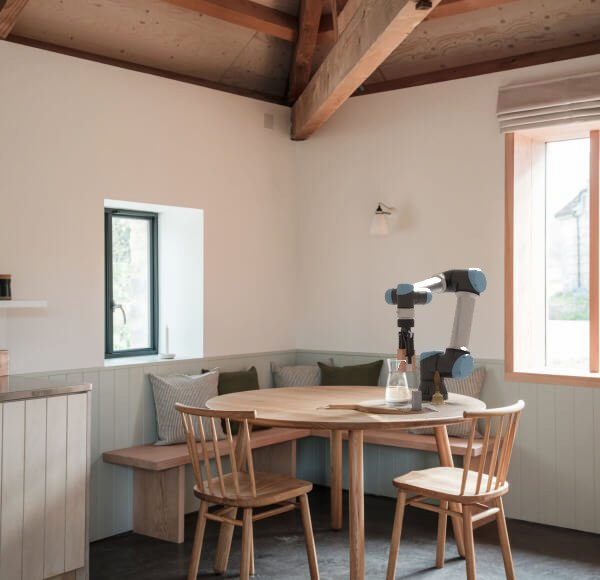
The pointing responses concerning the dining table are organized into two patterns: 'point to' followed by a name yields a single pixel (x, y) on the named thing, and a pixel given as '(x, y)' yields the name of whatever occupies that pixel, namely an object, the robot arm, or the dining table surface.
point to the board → (409, 410)
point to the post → (416, 400)
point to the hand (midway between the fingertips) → (406, 370)
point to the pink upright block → (402, 366)
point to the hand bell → (437, 391)
